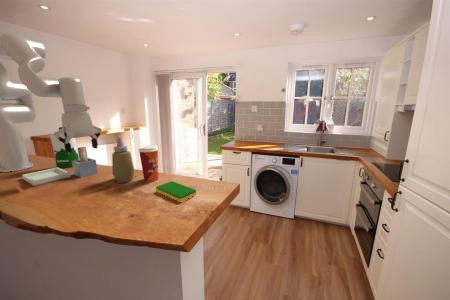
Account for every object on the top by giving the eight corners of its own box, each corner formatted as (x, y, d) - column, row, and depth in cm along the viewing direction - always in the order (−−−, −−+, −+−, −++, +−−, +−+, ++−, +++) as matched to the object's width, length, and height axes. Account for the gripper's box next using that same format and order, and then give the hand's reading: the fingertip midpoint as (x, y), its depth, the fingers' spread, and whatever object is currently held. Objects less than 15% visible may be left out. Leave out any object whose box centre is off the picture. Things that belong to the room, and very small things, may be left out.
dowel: (80, 174, 88) (76, 147, 85) (88, 172, 91) (84, 146, 88) (83, 175, 87) (79, 148, 84) (91, 173, 89) (87, 147, 86)
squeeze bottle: (110, 180, 83) (104, 137, 79) (130, 175, 88) (125, 135, 84) (118, 186, 77) (112, 140, 73) (138, 180, 83) (134, 137, 79)
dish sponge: (172, 186, 78) (171, 180, 77) (197, 196, 69) (196, 189, 69) (156, 192, 72) (155, 186, 72) (180, 204, 64) (180, 197, 63)
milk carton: (82, 164, 107) (76, 126, 102) (74, 169, 98) (66, 128, 94) (63, 165, 105) (56, 127, 100) (53, 170, 96) (44, 129, 92)
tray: (23, 180, 84) (22, 174, 83) (58, 172, 93) (57, 167, 93) (34, 188, 76) (32, 181, 75) (71, 178, 86) (70, 172, 85)
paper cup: (154, 183, 80) (151, 149, 77) (137, 182, 81) (133, 148, 78) (164, 176, 87) (162, 145, 84) (148, 175, 89) (145, 144, 86)
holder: (74, 176, 88) (71, 161, 86) (91, 172, 93) (88, 157, 92) (81, 179, 84) (78, 163, 83) (98, 175, 90) (95, 160, 88)
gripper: (93, 109, 91) (99, 145, 95) (45, 110, 77) (54, 153, 81) (102, 108, 87) (108, 147, 91) (52, 110, 73) (61, 155, 77)
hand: (82, 150), depth 86 cm, fingers open, 9 cm apart
